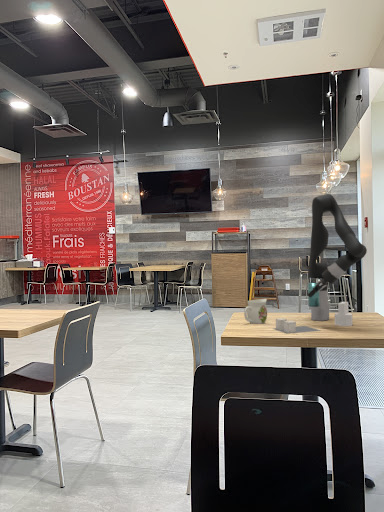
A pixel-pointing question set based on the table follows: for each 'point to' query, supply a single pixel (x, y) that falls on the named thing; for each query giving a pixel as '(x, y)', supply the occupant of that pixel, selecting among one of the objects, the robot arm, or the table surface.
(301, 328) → the slate board
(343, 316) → the base with upright slab
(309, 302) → the teal glass cylinder
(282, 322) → the cream cube
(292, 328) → the cream cube
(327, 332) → the table surface
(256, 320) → the pitcher
